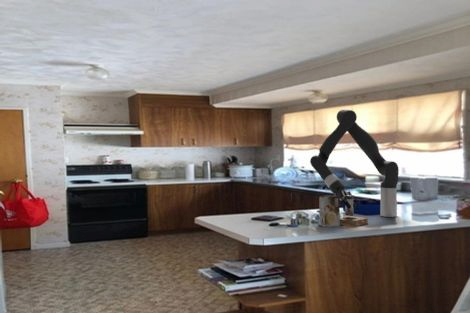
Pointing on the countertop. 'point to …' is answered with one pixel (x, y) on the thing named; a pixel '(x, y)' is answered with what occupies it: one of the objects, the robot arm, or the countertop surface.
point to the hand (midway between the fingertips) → (352, 207)
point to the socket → (353, 221)
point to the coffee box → (329, 211)
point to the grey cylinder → (350, 199)
